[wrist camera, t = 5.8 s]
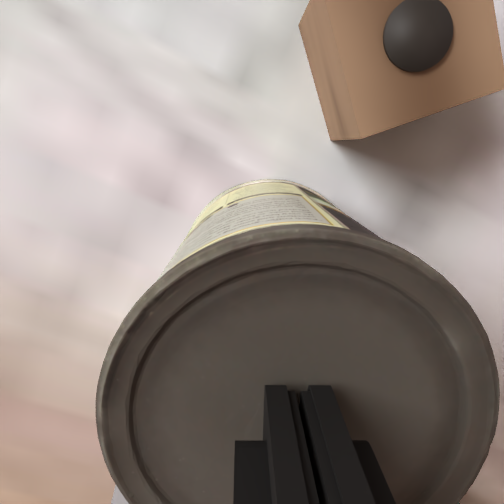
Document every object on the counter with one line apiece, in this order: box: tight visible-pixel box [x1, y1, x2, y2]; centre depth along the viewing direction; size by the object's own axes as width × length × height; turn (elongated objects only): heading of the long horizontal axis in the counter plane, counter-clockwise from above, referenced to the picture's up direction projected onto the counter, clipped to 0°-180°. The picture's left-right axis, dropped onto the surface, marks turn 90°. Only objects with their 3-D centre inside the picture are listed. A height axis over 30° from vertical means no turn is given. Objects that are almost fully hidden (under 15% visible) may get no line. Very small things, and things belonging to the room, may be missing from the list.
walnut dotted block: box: [299, 0, 504, 140], centre depth 18 cm, size 6×6×6 cm
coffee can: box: [96, 179, 500, 504], centre depth 17 cm, size 10×10×14 cm
